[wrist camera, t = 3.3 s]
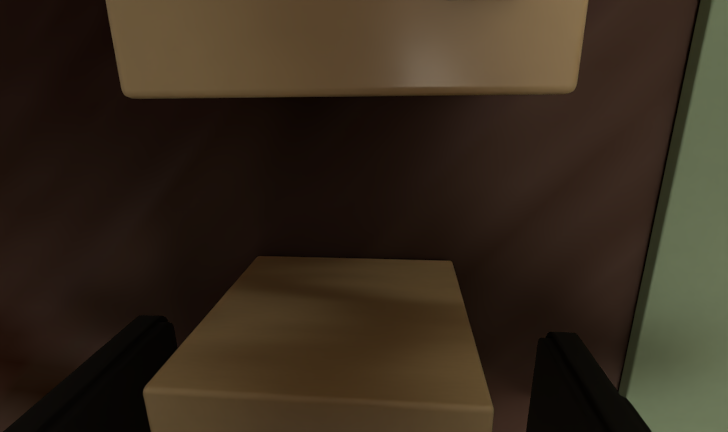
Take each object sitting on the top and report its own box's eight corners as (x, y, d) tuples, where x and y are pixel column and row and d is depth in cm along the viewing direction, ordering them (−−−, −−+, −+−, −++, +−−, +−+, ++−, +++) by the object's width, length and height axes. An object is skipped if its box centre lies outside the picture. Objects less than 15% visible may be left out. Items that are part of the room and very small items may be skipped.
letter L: (272, 411, 12) (182, 634, 7) (257, 254, 11) (130, 398, 6) (443, 421, 12) (473, 666, 7) (452, 259, 10) (499, 421, 5)
